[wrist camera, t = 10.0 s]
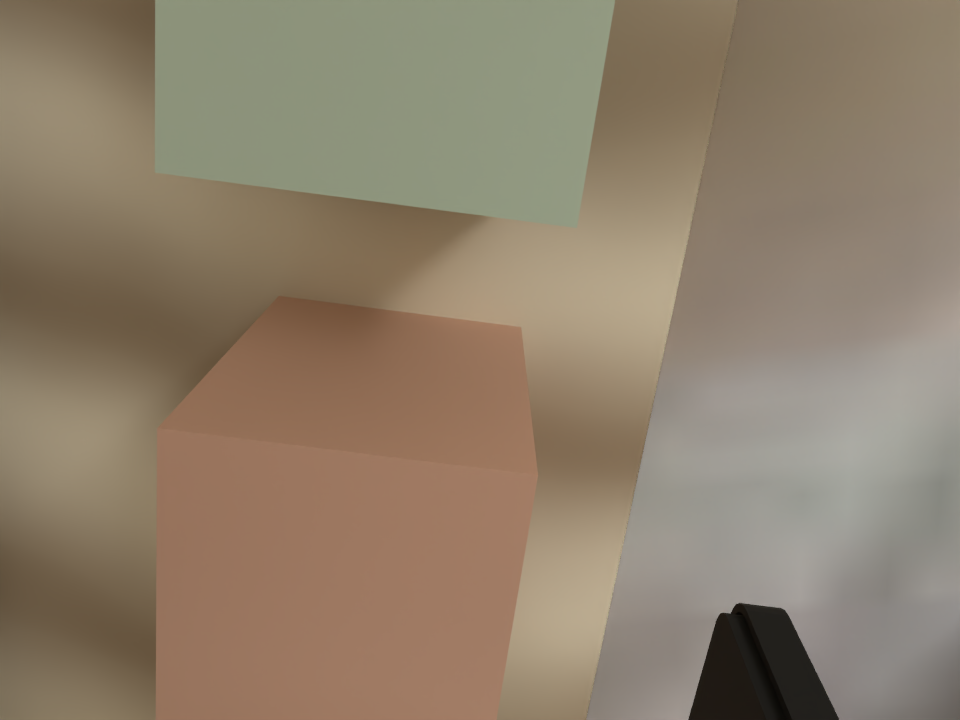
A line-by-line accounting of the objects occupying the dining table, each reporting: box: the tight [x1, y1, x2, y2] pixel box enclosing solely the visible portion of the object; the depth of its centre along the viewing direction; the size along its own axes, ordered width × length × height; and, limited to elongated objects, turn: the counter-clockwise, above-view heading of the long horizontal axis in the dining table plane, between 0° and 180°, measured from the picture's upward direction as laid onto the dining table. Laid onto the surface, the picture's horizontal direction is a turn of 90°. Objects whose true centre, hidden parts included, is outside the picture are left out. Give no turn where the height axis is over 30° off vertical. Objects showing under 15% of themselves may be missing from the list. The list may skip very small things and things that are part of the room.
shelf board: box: [0, 0, 739, 720], centre depth 15 cm, size 26×14×3 cm, turn 173°
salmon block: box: [156, 296, 538, 720], centre depth 14 cm, size 7×5×6 cm, turn 172°
